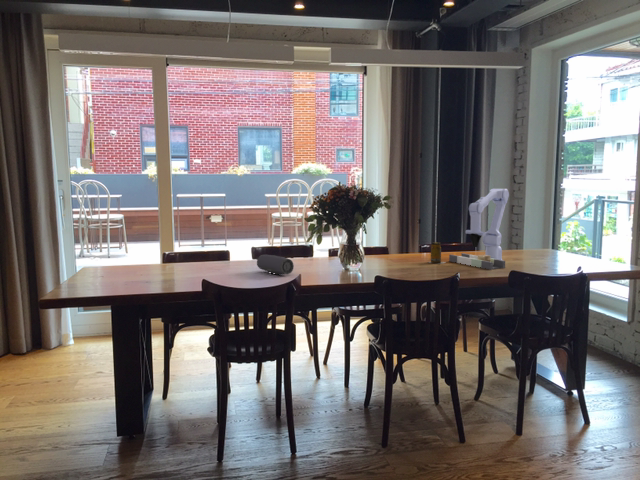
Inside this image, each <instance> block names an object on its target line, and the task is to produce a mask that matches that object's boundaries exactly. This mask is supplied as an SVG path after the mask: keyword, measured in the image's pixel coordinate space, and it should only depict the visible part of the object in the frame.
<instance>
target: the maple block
mask: <svg viewBox="0 0 640 480" xmlns="http://www.w3.org/2000/svg"><path fill="white" fill-rule="evenodd" d="M477 256H478V260H483V261H489V262H490V260H491V256H488V255H485V254H480V255H477Z"/></svg>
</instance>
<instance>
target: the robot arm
mask: <svg viewBox="0 0 640 480" xmlns="http://www.w3.org/2000/svg"><path fill="white" fill-rule="evenodd" d="M509 197H510V193H509V190H508V188H491V189H489V193H487V194H486V195H485V196H480V198H479V199H478V200H476V201H475V202H472V203H469V206H468V211H469V216H470V229H466V230H465V234H466V235H467V234H468V235H469V238H470V240H471V243H472V247H473V248H478V245H479V242H480V240H481V238H482V244H483V245H484V247H485V253H484V255H488V256H491V258H493V259H498V260H503V250H502V249H503V248H502V247H501V246H500V245H501V244H502V237H503V235H502V233H501V232H500V227H501V223H502V220H503V216H504V212H505V209H506V205H507V204H508V201H509ZM491 201H492V202H493V204H495V209H494V212H493V215H492V218H491V219H492V220H491V224H490V227H489V229H488V230H487V231H482V229H481V227H482V213H483V212H484V209H485V208H486V207H487V206H489V203H490V202H491Z"/></svg>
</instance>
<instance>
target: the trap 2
mask: <svg viewBox="0 0 640 480" xmlns="http://www.w3.org/2000/svg"><path fill="white" fill-rule="evenodd" d="M498 269H504V268H503V267H498V266H493V269H492V270H498Z"/></svg>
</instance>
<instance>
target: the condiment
mask: <svg viewBox="0 0 640 480" xmlns="http://www.w3.org/2000/svg"><path fill="white" fill-rule="evenodd" d="M428 263H430V264H438V265H441V264H446V263H447V262H446V261H445V262H444V261H442V247H441V242H437V241H434V242H431V247H430V261H428Z"/></svg>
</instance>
